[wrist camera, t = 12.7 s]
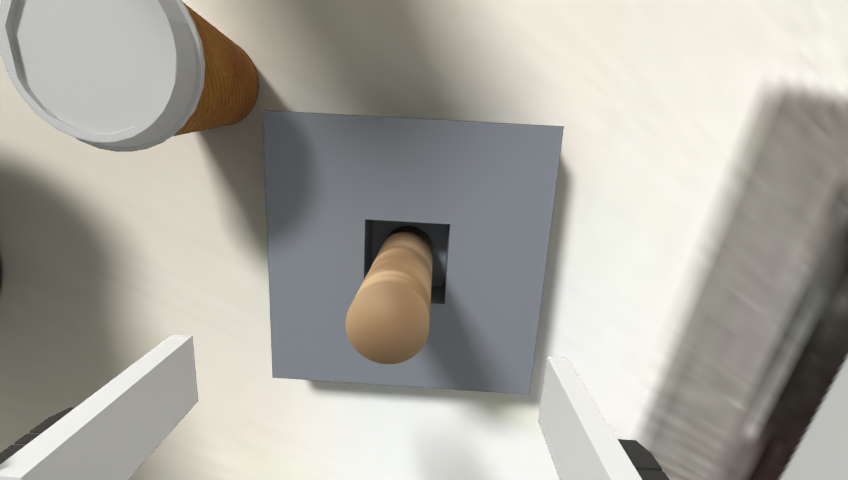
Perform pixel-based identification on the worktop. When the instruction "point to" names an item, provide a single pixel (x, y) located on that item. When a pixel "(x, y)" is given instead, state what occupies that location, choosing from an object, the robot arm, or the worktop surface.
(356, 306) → the oak peg
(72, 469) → the robot arm
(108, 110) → the disposable coffee cup
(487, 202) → the socket block
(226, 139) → the worktop surface
